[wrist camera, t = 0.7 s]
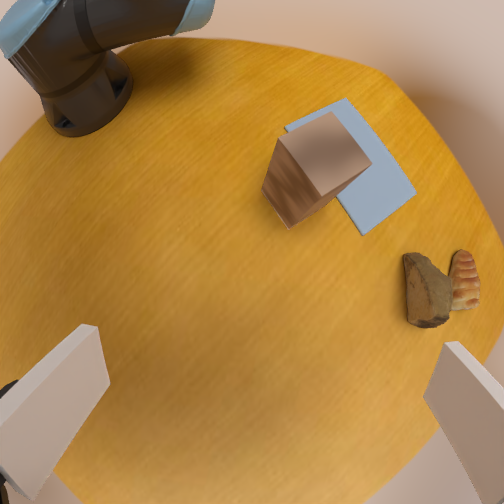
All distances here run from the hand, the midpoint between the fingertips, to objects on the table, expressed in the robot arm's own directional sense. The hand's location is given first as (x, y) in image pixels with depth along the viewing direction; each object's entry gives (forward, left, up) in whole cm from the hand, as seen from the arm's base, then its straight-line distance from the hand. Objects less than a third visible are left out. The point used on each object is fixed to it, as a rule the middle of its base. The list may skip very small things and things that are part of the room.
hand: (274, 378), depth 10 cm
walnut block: (-8, +13, -26) cm, 30 cm away
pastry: (+17, +29, -26) cm, 42 cm away
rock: (+12, +21, -26) cm, 35 cm away
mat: (-8, +24, -26) cm, 36 cm away
